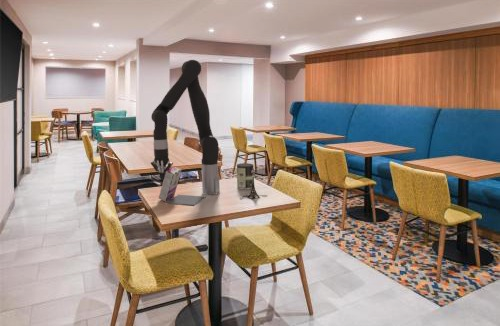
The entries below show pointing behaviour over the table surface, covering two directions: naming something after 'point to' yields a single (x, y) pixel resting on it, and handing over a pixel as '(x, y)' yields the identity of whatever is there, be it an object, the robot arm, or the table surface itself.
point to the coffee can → (244, 176)
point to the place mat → (185, 200)
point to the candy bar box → (170, 183)
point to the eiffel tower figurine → (253, 193)
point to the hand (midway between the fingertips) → (162, 179)
